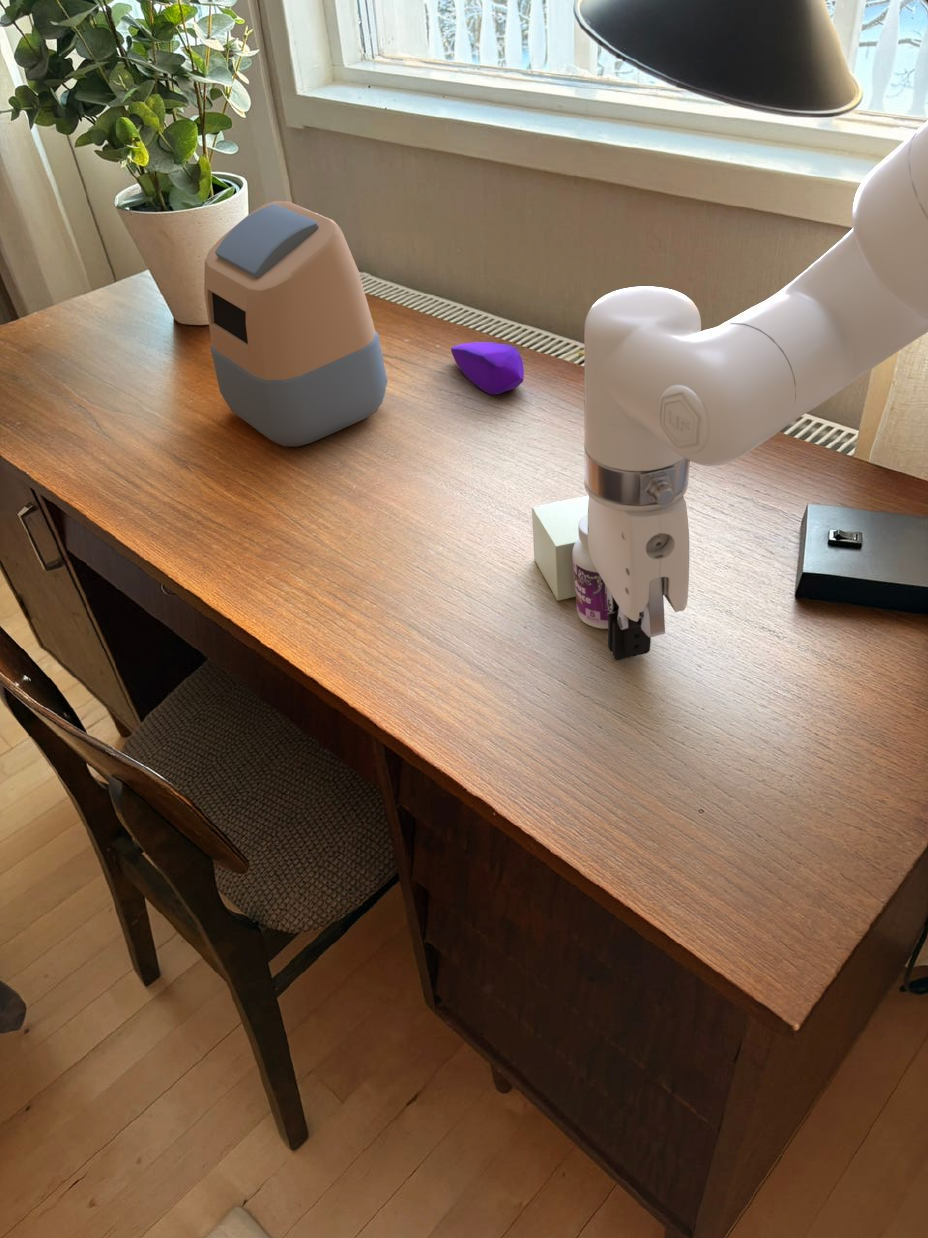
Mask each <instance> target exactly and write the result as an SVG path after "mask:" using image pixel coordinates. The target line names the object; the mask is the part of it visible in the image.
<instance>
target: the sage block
mask: <svg viewBox="0 0 928 1238" xmlns="http://www.w3.org/2000/svg"><path fill="white" fill-rule="evenodd" d="M588 501H589V495H588V494H587V495H582V496H578V497H577V496H576V497H571V498H567V499H563V500H558V501H554V502H550V503H545V504H539V505H535V506H532V507H531V520H532V522H531V523H532V541H533V542H532V543H533V559H534V561H535V564H536V566H537V567H538V568H539V571H540V572H541V574H542V576H543V578H544V579H545V582H546V583H547V585H548V587H549V588H550V591H551V592H552V594H553V595H554V597H555V599H556V601H561V600H562V601H563V600H567V599H571V598H576V592H575V581H574V568H573V555H572V553H573V547H574V545H575V543H576V541H577V540H578V539H579V530H578V525H579V521H580V520H581V518H582V517H584V516H585V515H587V514H588Z"/></svg>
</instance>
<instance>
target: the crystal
mask: <svg viewBox="0 0 928 1238" xmlns="http://www.w3.org/2000/svg"><path fill="white" fill-rule="evenodd" d="M450 352H451V355H452V357H453V359H454V361H455V363H456V365H457V367H458V368H459V370H460V371H461V372H462V373H463V374H464V376H465V377H466V378H467V379H468V381H470V382H471V383H472V384H473V385H475V386H476V387H477V388H479V389H481V390H482V391H484V392H486V393H488V394H489V395H492V396H493V395H500V394H502V393H505V392H508V391H509V392H510V391H511V390H513V389H515V388H517V387H519V386H520V385H522V383H524V378H525V368H524V361H523V358H522V356H521V354H520V352H519V350H518V348H516V347H514V346H512V345H510V344H505V343H504V344H503V343H497V342H492V341H491V342H490V341H480V342H479V341H478V342H477V341H476V342H466V343H460V344H457V345H454V346H452V347H451V348H450Z"/></svg>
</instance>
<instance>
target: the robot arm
mask: <svg viewBox="0 0 928 1238" xmlns="http://www.w3.org/2000/svg"><path fill="white" fill-rule="evenodd" d="M851 222H852V224H851V225H852V228H851V229H850V231H848V232H847V233H846V234H845V235H844V236H843V237H842V238H841V239H840V240H839V241H838V242H837V243H836V244H834V245H833V246H832V247H831V248H830V249H829V250H827V251H826V252H825V253H824V254H823V255H822V256H821V257H819V258H818V259H817V260H816V261H814V263H812V264H811V265H810V266H808V267H807V269H805V270H804V271H803V272H802V273H800V274H799V275H798V276H796V277H795V279H793V280H792V281H791V282H790V283H788V284H787V285H785V286H784V287H783V288H781V289H780V290H779V291H778V292H776V293H775V294H773V295H771V296H770V297H769V298H767V299H766V300H763V301H761V302H760V303H758V304H756V305H754V306H751V307H750V308H748V309H746V310H745V311H743V312H741V313H739V314H737V315H736V316H734V317H732V318H731V319H729V320H727V321H725V322H723V323H721V324H719V325H718V326H715V327H712V328H709V329H704V330H702V318H701V315H700V311H699V309H698V307H697V306H696V304H695V302H694V301H693V300H692V299H691V298H690V297H688V296H687V295H685V294H684V293H681V292H679V291H678V290H674V289H669V288H666V287H660V286H647V285H646V286H633V287H626V288H621V289H617V290H614V291H611V292H609V293H607V294H605V295H603V296H602V297H600V298H598V300H596V301H595V302H594V303H593V305H592V306H590V308H589V310H588V313H587V314H586V317H585V321H584V334H583V335H584V336H583V337H584V338H583V341H584V343H583V344H584V345H583V346H584V347H583V348H584V349H583V351H584V355H583V356H584V358H583V359H584V360H583V361H584V362H583V364H584V366H583V367H584V369H583V370H584V375H583V376H584V400H583V401H584V403H583V405H584V409H583V411H584V415H583V418H584V422H583V423H584V428H583V429H584V443H583V444H584V449H583V451H584V452H583V456H584V457H583V460H584V462H583V463H584V465H583V466H584V467H583V470H584V471H583V473H584V474H583V475H584V476H583V479H584V480H583V485H584V490H585V492H586V493H587V495H589V501H588V523H587V535H588V549H589V554H590V557H591V560H592V562H593V564H594V566H595V568H596V570H597V571H598V573H599V575H600V576H601V578H602V580H603V581H604V583H605V585H606V592H607V605H608V609H609V611H610V612H614V613H611V614H608V629H607V649H608V650H609V652H610V653H611V655H612V657H613V659H614V661H621V660H626V659H630V658H634V657H637V656H642V655H646V654H649V652H650V651H651V642H652V641H651V640H652V638H655V637H657V636H658V637H659V636H663V635H665V634H666V622H665V620H666V619H665V604H664V603H665V601H664V598H665V599H666V601H667V602H668V603H669V605H670V607H671V608H672V609H673V611H674V612H675V613H679V612H683V611H685V609H686V608H687V605H688V598H689V585H690V526H689V518H688V508H687V501H686V499H685V497H684V495H685V494H686V493H687V490H688V489H689V488H688V487H689V477H690V464H691V463H694V464H697V465H701V466H704V467H719V466H724V465H728V464H730V463H733V462H735V461H737V460H739V459H740V458H742V457H744V456H745V455H747V454H748V453H750V452H751V451H753V450H755V449H756V448H757V447H759V446H760V445H762V444H763V443H765V442H767V441H768V440H769V439H770V438H773V437H774V436H775V435H777V434H778V433H779V432H780V431H782V430H783V429H784V428H786V427H788V426H789V425H790V424H792V423H794V422H795V421H797V420H798V419H799V418H802V416H804V415H805V414H807V413H808V412H810V411H812V410H813V409H815V408H817V407H818V406H820V405H822V404H823V403H824V402H826V401H827V400H829V399H830V398H832V397H833V396H835V395H836V394H838V393H839V392H840V391H842V390H843V389H845V388H846V387H848V386H849V385H851V384H852V383H854V382H855V381H856V380H858V379H860V377H862V376H863V375H865V374H867V373H868V372H869V371H871V370H872V369H875V368H876V367H877V366H879V365H880V364H882V363H883V362H884V361H887V360H888V359H889V358H891V357H892V356H894V355H896V354H897V353H898V352H899V351H901V350H903V349H904V348H906V347H907V346H908V345H910V344H912V343H913V342H915V341H916V340H918V339H919V338H921V337H923V336H925V335H926V334H927V333H928V120H926V121H925V122H923V124H922V125H921V126H919V127H918V128H917V129H916V130H915V131H914V132H913V133H912V134H911V135H910V136H908V137H907V138H906V139H905V140H904V141H903V142H902V143H901V144H900V145H899V146H897V147H896V148H895V149H894V150H893V151H892V152H890V153H889V154H888V155H887V156H886V157H885V158H884V159H882V160H881V161H880V162H879V163H878V164H877V165H876V166H875V167H874V168H873V169H872V170H870V171H869V172H868V174H867V175H866V176H865V177H864V178H863V180H862V181H861V183H860V185H859V187H858V188H857V191H856V193H855V195H854V200H853V205H852V212H851Z"/></svg>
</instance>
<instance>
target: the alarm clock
mask: <svg viewBox="0 0 928 1238" xmlns="http://www.w3.org/2000/svg"><path fill="white" fill-rule="evenodd" d="M203 275H204V285H203V288H204V292H203V294H204V295H203V296H204V301H205V308H206V314H207V321H208V326H209V333H210V339H211V340H210V341H211V344H210V346H209V347H210V352H211V356H212V360H213V361H212V362H213V364H214V371H215V375H216V380H217V383H218V384H217V385H218V388H219V392H220V395H221V396H222V398H223V400H224V401H225V403H226V404H227V406H228V408H229V409H230V411H231V412H233V413H234V414H235V415H236V416H237V417H239V418H240V419H241V420H243V421H244V422H245V423H247V424H248V425H250V426H251V427H252V428H253V429H255V430H256V431H257V432H259V433H261V434H262V435H263V436H265V438H267V439H269V440H270V441H271V442H273V444H277V445H278V446H279V445H280V446H282V447H302V446H306V445H309V444H312V443H314V442H317V441H318V440H321V439H323V438H325V437H329V436H330V435H332V434H335V433H336V432H339V431H342V430H343V429H346V428H348V427H350V426H352V425H355V424H357V423H359V422H361V421H364V420H366V419H367V418H369V417H370V416H371V415H373V414H374V413H376V411H377V410H378V409H379V408H380V406H381V405H382V404H383V401H384V398H385V395H386V389H387V386H388V378H387V377H388V376H387V372H386V368H385V362H384V356H383V351H382V346H381V341H380V337H379V333H378V332H377V331H376V329H375V325H374V321H373V318H372V314H371V310H370V307H369V303H368V300H367V296H366V292H365V289H364V285H363V282H362V278H361V275H360V272H359V269H358V266H357V264H356V262H355V259H354V257H353V255H352V252H351V249H350V248H349V245H348V242H347V239H346V238H345V235H344V233H343V230H342V229H341V227H340V226H339V225H338V223H336V221H335V220H333V219H331V218H329V217H326V216H324V215H321V214H319V213H317V212H314V211H312V210H310V209H308V208H305V207H302V206H301V205H298V204H295V203H293V202H292V201H287V200H274V201H271V202H267V203H265V204H262V205H261V206H259V207H257V208H256V209H254V210H253V211H251V212H249V214H247V215H246V216H245V217H244V218H243V219H242V220H240V221H239V222H238V223H237V224H236V225H234V226H233V227H232V228H231V229H230V230H228V231H227V232H226V233H225V234H223V235H222V236H221V237H220V238H219V239H218V241H217V242H215V243H214V245H212V247H211V248H210V249H209V250H208V252H207V254H206V256H205V259H204V274H203Z"/></svg>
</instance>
